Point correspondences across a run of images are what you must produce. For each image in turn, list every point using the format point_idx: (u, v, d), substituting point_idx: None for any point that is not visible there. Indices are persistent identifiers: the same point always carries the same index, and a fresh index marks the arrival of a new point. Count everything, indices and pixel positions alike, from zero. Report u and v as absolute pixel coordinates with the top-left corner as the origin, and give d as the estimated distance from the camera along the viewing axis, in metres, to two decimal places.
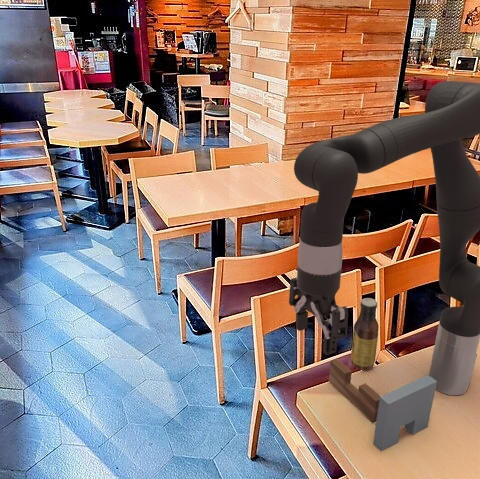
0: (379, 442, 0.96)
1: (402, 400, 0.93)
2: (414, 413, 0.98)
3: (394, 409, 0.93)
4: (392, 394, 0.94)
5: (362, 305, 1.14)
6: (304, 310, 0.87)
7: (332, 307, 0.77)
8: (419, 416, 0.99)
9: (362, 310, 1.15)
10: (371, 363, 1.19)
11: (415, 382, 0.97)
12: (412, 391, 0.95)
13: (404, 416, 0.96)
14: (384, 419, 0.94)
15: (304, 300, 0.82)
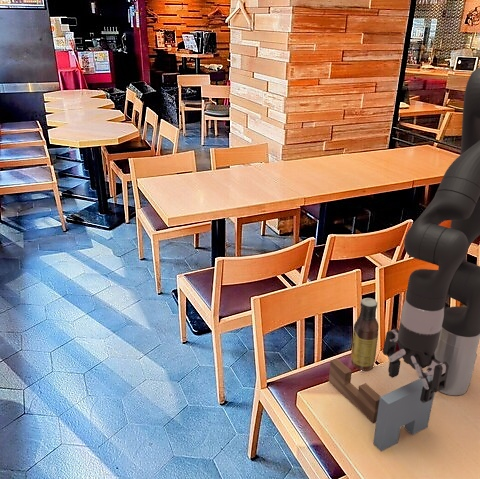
0: (379, 442, 0.96)
1: (402, 400, 0.93)
2: (414, 413, 0.98)
3: (394, 409, 0.93)
4: (392, 394, 0.94)
5: (362, 305, 1.14)
6: (397, 359, 0.97)
7: (433, 362, 0.87)
8: (419, 416, 0.99)
9: (362, 310, 1.15)
10: (371, 363, 1.19)
11: (415, 382, 0.97)
12: (412, 391, 0.95)
13: (404, 416, 0.96)
14: (384, 419, 0.94)
15: (403, 353, 0.92)
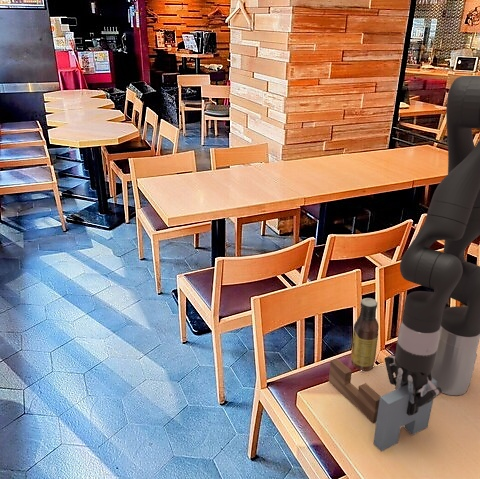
0: (379, 442, 0.96)
1: (402, 400, 0.93)
2: None
3: (394, 409, 0.93)
4: (392, 394, 0.94)
5: (362, 305, 1.14)
6: None
7: (429, 385, 0.90)
8: (419, 416, 0.99)
9: (362, 310, 1.15)
10: (371, 363, 1.19)
11: None
12: None
13: (404, 416, 0.96)
14: (384, 419, 0.93)
15: (401, 372, 0.94)
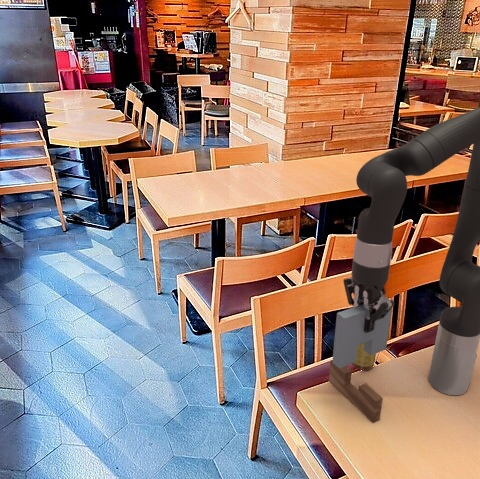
0: (337, 359, 1.00)
1: (358, 316, 0.98)
2: (371, 332, 1.02)
3: (350, 325, 0.97)
4: (349, 311, 0.98)
5: None
6: None
7: (382, 298, 0.94)
8: (377, 337, 1.03)
9: None
10: (371, 363, 1.19)
11: None
12: None
13: (361, 334, 1.00)
14: (341, 334, 0.98)
15: (357, 289, 0.98)
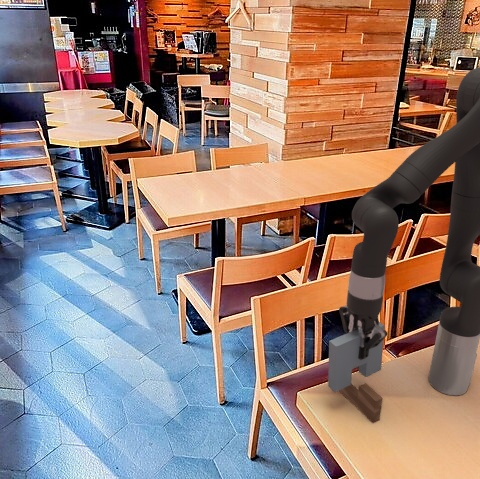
0: (332, 384, 1.04)
1: (350, 343, 1.01)
2: None
3: (343, 352, 1.00)
4: (341, 338, 1.01)
5: None
6: None
7: (376, 328, 0.97)
8: (370, 359, 1.06)
9: None
10: None
11: None
12: None
13: (354, 359, 1.03)
14: (334, 361, 1.01)
15: (352, 318, 1.01)
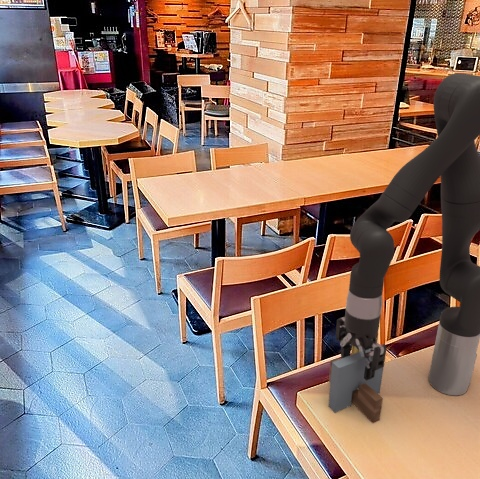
0: (333, 404, 1.07)
1: (352, 365, 1.04)
2: None
3: (345, 373, 1.03)
4: (343, 360, 1.04)
5: None
6: (348, 344, 1.08)
7: (374, 344, 0.99)
8: (371, 382, 1.09)
9: None
10: None
11: (366, 350, 1.07)
12: (362, 358, 1.05)
13: (355, 381, 1.06)
14: (336, 382, 1.04)
15: (350, 336, 1.03)
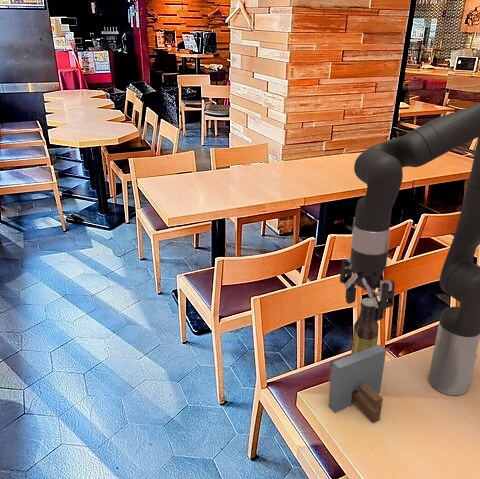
0: (333, 404, 1.07)
1: (352, 365, 1.04)
2: (365, 379, 1.08)
3: (345, 373, 1.03)
4: (344, 360, 1.04)
5: (362, 305, 1.14)
6: (353, 286, 1.05)
7: (381, 281, 0.95)
8: (371, 382, 1.09)
9: (362, 310, 1.15)
10: None
11: (366, 350, 1.07)
12: (362, 358, 1.05)
13: (355, 381, 1.06)
14: (336, 382, 1.04)
15: (356, 277, 0.99)
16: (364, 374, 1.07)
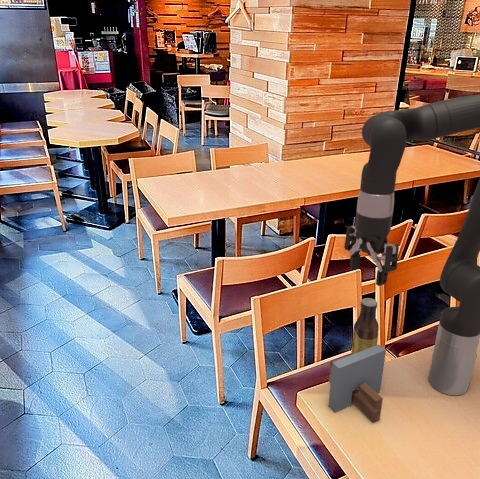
0: (333, 404, 1.07)
1: (352, 365, 1.04)
2: (365, 378, 1.08)
3: (345, 373, 1.03)
4: (343, 360, 1.04)
5: (362, 305, 1.14)
6: (357, 253, 1.07)
7: (385, 245, 0.97)
8: (371, 382, 1.09)
9: (362, 310, 1.15)
10: None
11: (366, 350, 1.07)
12: (362, 358, 1.05)
13: (355, 381, 1.06)
14: (336, 382, 1.04)
15: (360, 242, 1.02)
16: (364, 374, 1.07)
